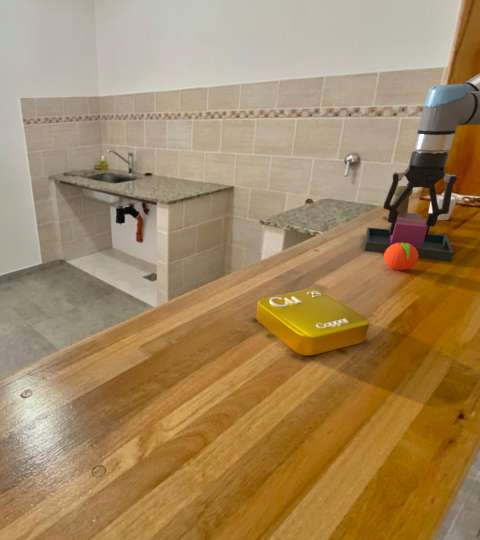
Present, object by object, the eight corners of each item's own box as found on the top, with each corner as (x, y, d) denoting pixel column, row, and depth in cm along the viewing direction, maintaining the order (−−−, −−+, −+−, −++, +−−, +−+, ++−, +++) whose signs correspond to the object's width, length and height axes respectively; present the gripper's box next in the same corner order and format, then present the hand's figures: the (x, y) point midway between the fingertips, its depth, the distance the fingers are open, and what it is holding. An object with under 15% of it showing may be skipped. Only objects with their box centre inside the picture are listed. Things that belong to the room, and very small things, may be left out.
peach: (420, 277, 92) (428, 250, 89) (386, 275, 94) (393, 248, 91) (409, 264, 98) (416, 238, 96) (378, 262, 101) (384, 237, 98)
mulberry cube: (420, 251, 104) (427, 226, 101) (390, 247, 108) (396, 223, 105) (418, 242, 110) (425, 219, 107) (389, 239, 113) (395, 216, 110)
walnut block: (416, 229, 121) (420, 213, 119) (417, 234, 117) (422, 219, 115) (393, 226, 124) (397, 212, 122) (394, 232, 120) (398, 217, 118)
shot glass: (431, 220, 128) (437, 200, 125) (421, 214, 134) (427, 195, 131) (455, 220, 126) (462, 200, 124) (444, 214, 132) (450, 195, 130)
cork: (385, 214, 136) (393, 184, 132) (406, 216, 133) (414, 185, 129) (386, 219, 132) (393, 187, 127) (407, 221, 129) (416, 188, 124)
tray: (443, 243, 110) (446, 235, 109) (450, 261, 99) (453, 252, 98) (365, 235, 119) (367, 227, 118) (364, 250, 108) (366, 242, 107)
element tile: (302, 359, 67) (306, 336, 65) (251, 317, 80) (253, 297, 78) (370, 341, 70) (376, 319, 68) (311, 303, 83) (314, 284, 81)
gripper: (478, 149, 96) (450, 235, 105) (384, 148, 106) (366, 227, 115) (484, 154, 90) (454, 244, 100) (384, 152, 100) (365, 234, 109)
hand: (407, 235), depth 107 cm, fingers closed on mulberry cube, 7 cm apart
